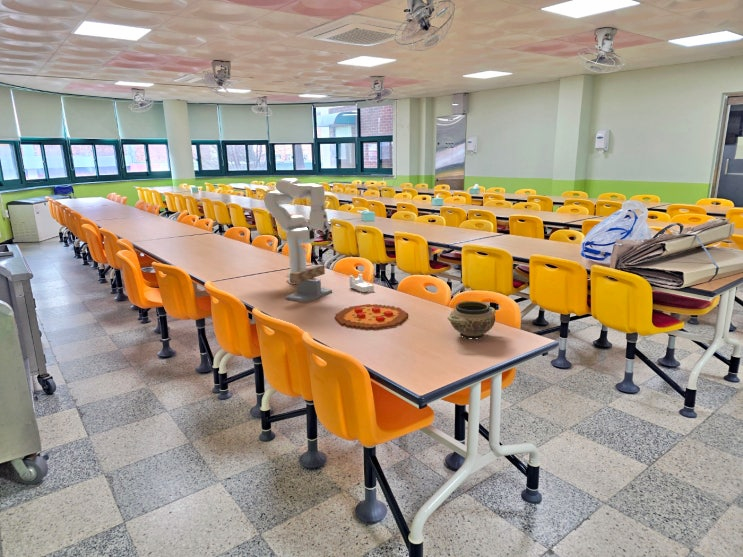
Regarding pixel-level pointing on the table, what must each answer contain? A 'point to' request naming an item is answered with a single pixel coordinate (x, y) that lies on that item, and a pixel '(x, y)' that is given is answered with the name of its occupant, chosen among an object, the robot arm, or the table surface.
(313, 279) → the balance stand
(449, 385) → the table surface
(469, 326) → the ceramic bowl
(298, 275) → the brown wooden bar
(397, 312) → the pizza
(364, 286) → the bracket
